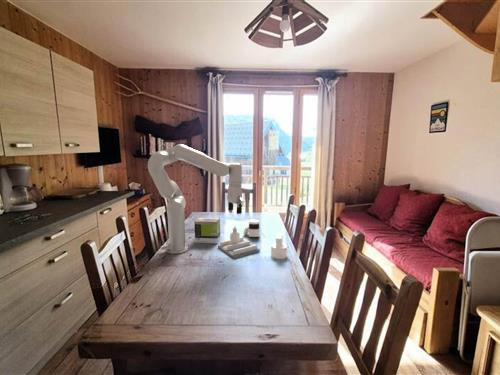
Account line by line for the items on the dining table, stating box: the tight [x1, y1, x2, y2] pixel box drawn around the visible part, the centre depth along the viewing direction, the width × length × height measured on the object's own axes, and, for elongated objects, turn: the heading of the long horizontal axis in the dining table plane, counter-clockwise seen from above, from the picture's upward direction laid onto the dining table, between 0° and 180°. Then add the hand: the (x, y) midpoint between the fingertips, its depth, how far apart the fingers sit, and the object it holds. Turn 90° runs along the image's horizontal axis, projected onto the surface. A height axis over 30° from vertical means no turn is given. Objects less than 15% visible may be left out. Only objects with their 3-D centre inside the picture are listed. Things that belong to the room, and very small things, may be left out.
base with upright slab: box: [270, 232, 288, 260], centre depth 148 cm, size 9×9×12 cm
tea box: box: [193, 217, 221, 244], centre depth 170 cm, size 15×10×15 cm, turn 84°
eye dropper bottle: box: [229, 225, 241, 245], centre depth 159 cm, size 4×6×12 cm
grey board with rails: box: [217, 236, 261, 260], centre depth 156 cm, size 18×19×4 cm
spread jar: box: [242, 219, 261, 239], centre depth 179 cm, size 12×11×12 cm
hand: (234, 211), depth 156 cm, fingers open, 9 cm apart
